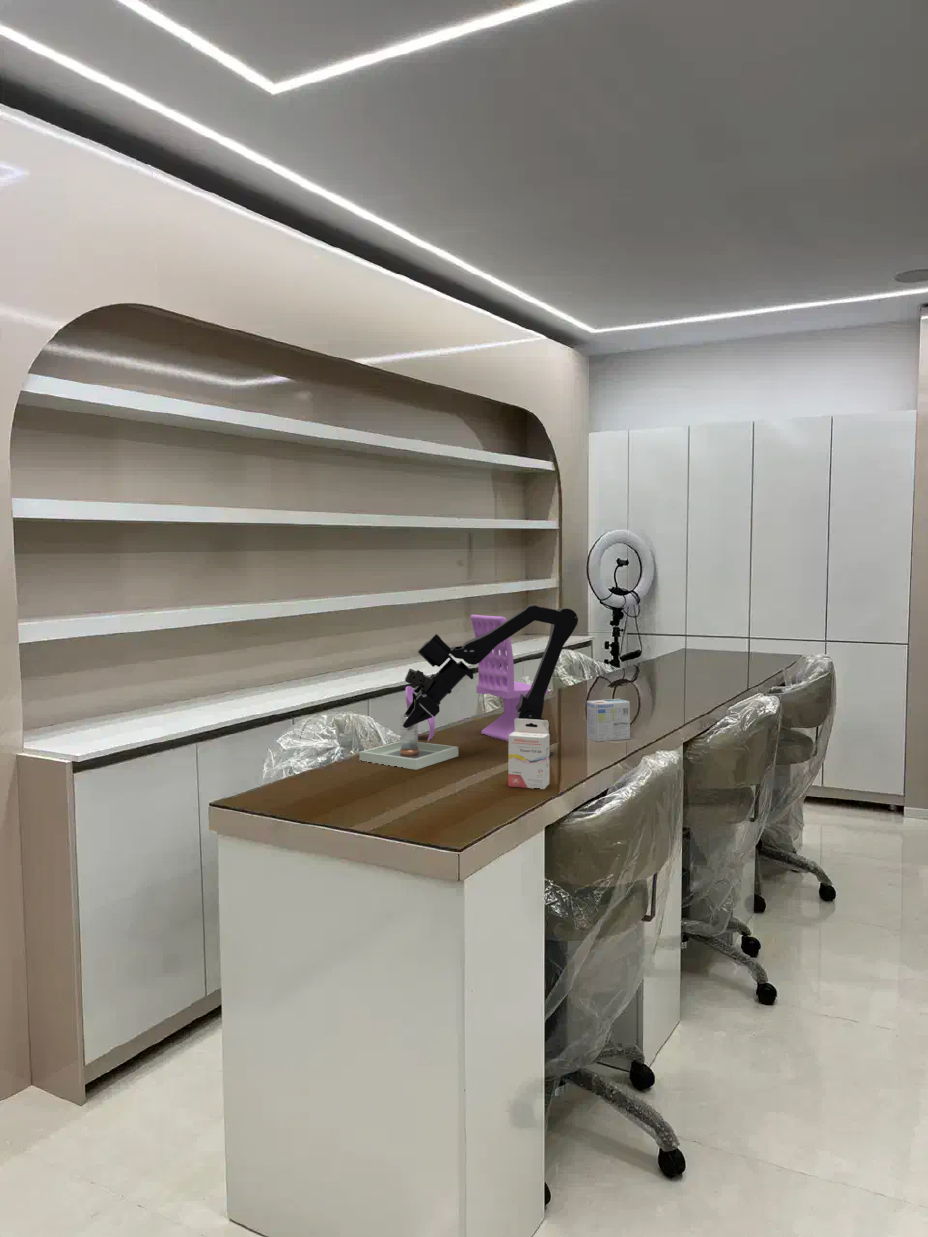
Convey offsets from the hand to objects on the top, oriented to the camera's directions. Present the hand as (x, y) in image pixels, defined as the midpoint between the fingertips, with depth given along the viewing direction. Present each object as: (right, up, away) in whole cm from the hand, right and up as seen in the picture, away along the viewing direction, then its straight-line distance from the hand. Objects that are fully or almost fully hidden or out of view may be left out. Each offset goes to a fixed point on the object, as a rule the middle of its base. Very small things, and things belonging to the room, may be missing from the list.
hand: (403, 723), depth 231 cm
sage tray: (+1, -9, +1) cm, 9 cm away
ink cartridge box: (+30, -11, -28) cm, 43 cm away
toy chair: (+2, -8, +27) cm, 28 cm away
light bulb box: (+56, -7, +24) cm, 61 cm away
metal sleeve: (+1, -8, +1) cm, 8 cm away
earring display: (+28, -7, +29) cm, 42 cm away
